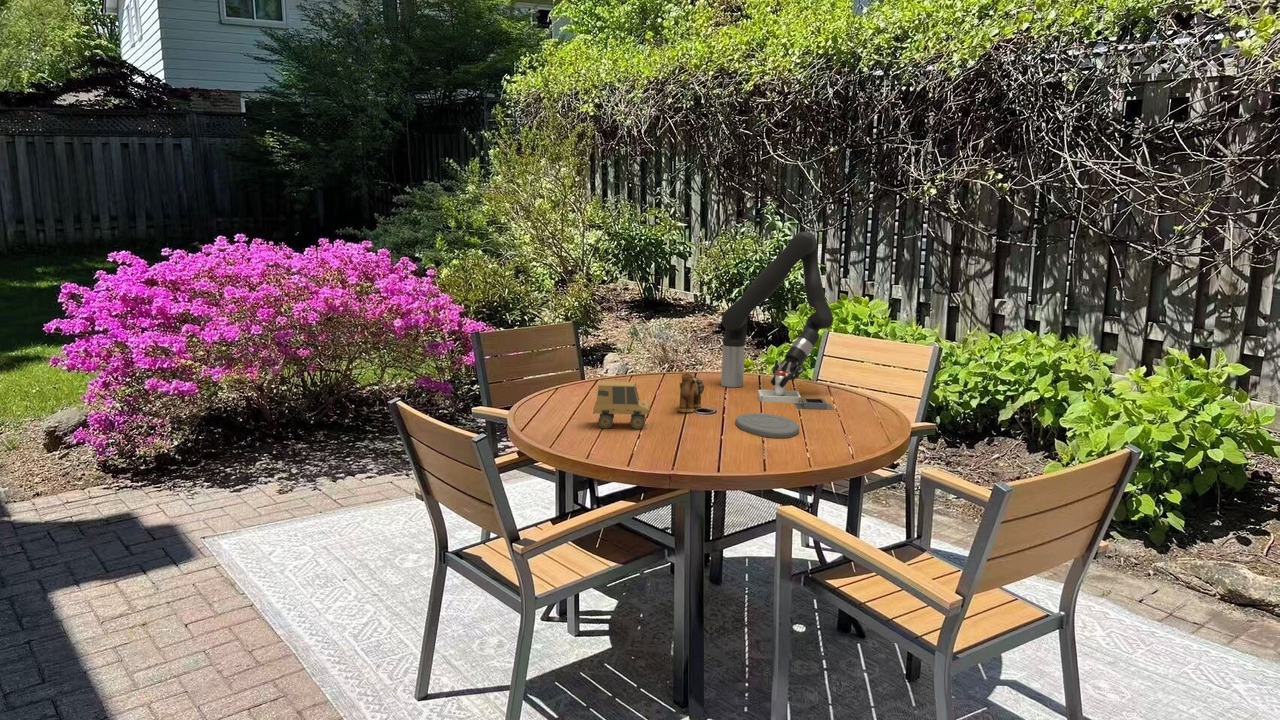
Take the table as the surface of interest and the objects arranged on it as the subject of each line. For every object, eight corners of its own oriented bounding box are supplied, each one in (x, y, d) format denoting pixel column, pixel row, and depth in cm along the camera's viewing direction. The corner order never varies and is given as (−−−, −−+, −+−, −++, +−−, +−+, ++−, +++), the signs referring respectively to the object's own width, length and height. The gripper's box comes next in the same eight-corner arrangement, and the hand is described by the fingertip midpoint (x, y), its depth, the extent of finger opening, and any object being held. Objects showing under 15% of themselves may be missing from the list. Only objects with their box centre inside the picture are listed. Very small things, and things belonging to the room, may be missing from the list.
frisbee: (763, 441, 290) (763, 434, 289) (723, 421, 314) (724, 414, 314) (815, 436, 298) (815, 428, 297) (772, 417, 322) (772, 410, 322)
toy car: (648, 430, 300) (649, 387, 297) (592, 429, 301) (593, 386, 298) (648, 422, 310) (649, 381, 307) (594, 421, 311) (595, 379, 308)
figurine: (671, 413, 323) (672, 373, 321) (684, 404, 337) (685, 366, 335) (696, 416, 320) (697, 375, 317) (707, 406, 334) (709, 368, 331)
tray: (760, 403, 340) (760, 396, 340) (757, 396, 352) (758, 389, 351) (800, 404, 340) (801, 397, 339) (797, 398, 351) (797, 390, 351)
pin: (774, 397, 344) (776, 372, 342) (773, 394, 348) (775, 370, 346) (785, 397, 343) (786, 372, 342) (784, 395, 347) (785, 370, 345)
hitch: (796, 410, 330) (797, 403, 330) (793, 405, 339) (794, 397, 339) (834, 411, 330) (834, 404, 329) (830, 406, 339) (830, 398, 338)
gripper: (781, 343, 352) (758, 376, 347) (808, 348, 341) (785, 382, 336) (790, 354, 356) (767, 387, 351) (817, 360, 345) (794, 394, 340)
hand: (776, 385), depth 343 cm, fingers closed on pin, 4 cm apart
